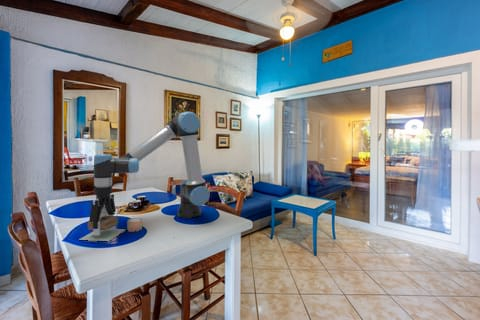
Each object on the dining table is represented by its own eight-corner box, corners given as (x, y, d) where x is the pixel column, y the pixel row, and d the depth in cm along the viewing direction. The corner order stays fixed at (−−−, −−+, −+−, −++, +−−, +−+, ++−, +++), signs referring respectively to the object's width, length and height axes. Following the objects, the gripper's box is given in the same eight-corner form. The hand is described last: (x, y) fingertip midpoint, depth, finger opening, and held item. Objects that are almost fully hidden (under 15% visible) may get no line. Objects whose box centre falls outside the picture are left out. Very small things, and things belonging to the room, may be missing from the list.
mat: (125, 230, 116) (125, 229, 116) (108, 242, 102) (108, 240, 102) (99, 229, 116) (99, 228, 116) (79, 240, 102) (79, 239, 102)
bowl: (144, 227, 121) (144, 218, 121) (138, 232, 114) (138, 222, 114) (131, 226, 121) (131, 217, 121) (124, 231, 114) (124, 222, 114)
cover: (117, 223, 113) (117, 214, 113) (106, 230, 104) (106, 220, 104) (100, 223, 113) (100, 214, 113) (87, 229, 104) (87, 219, 104)
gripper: (109, 182, 118) (109, 223, 120) (78, 189, 97) (79, 240, 98) (123, 182, 118) (123, 223, 120) (95, 190, 96) (95, 240, 98)
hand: (103, 231), depth 109 cm, fingers closed on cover, 9 cm apart
